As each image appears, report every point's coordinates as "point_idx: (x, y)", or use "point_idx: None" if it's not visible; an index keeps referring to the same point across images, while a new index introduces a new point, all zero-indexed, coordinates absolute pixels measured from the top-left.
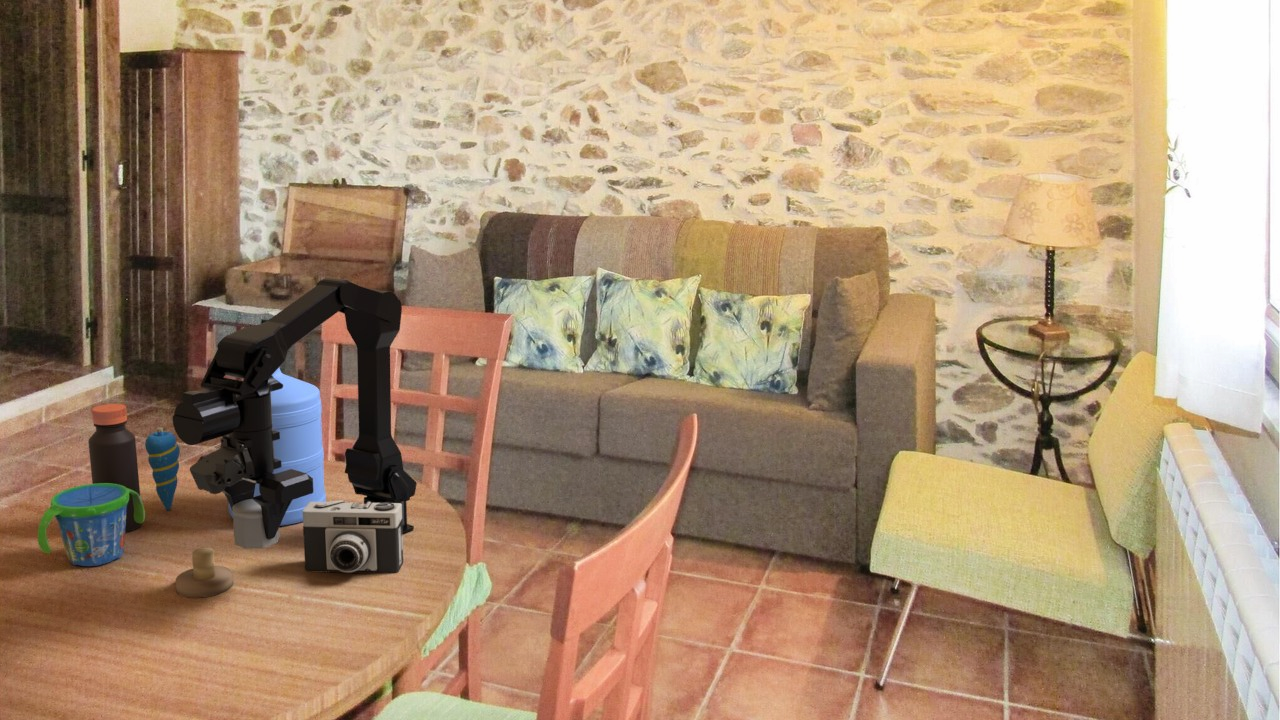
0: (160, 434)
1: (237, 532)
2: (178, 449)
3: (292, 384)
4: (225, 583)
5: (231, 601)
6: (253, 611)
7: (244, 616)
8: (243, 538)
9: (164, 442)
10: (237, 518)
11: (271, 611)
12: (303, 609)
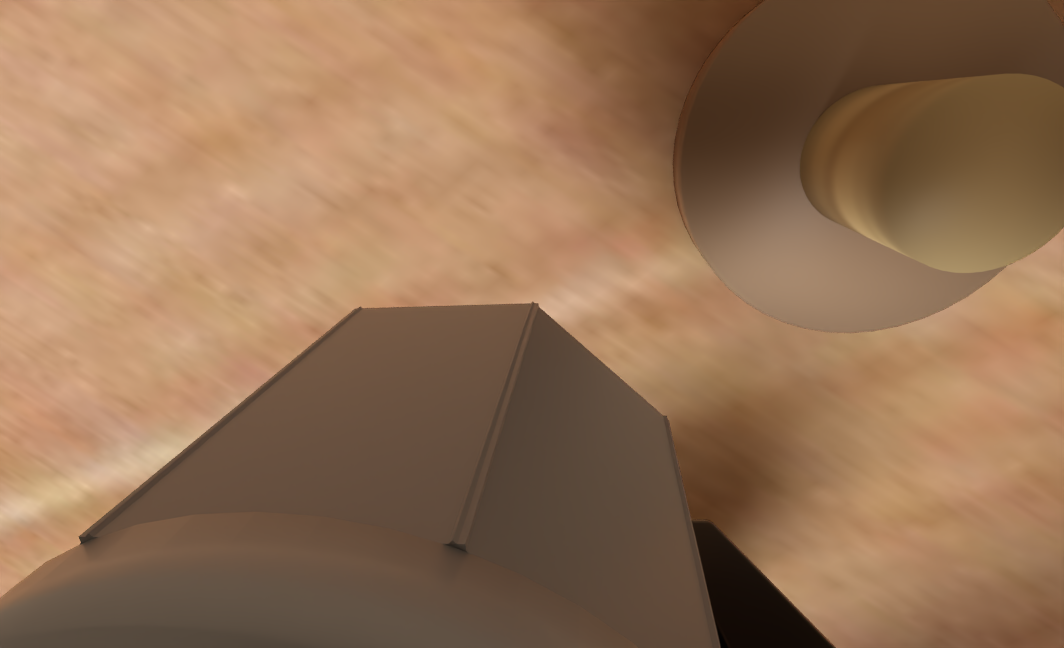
0: None
1: (436, 371)
2: None
3: None
4: (682, 205)
5: (531, 141)
6: (331, 150)
7: (306, 79)
8: (332, 351)
9: None
10: (317, 510)
11: (271, 213)
12: (196, 324)
